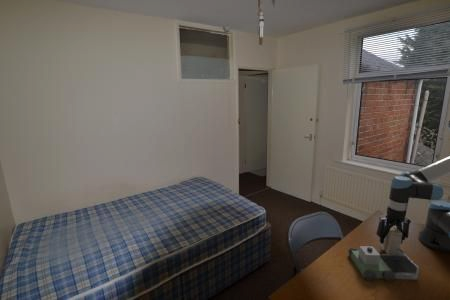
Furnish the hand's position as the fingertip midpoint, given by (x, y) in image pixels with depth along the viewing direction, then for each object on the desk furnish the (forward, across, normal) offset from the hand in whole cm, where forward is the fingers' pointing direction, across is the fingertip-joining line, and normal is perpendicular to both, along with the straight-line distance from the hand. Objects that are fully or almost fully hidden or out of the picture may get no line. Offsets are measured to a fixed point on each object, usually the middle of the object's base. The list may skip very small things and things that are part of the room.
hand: (389, 248), depth 117 cm
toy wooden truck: (+1, +16, +12) cm, 20 cm away
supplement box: (+2, 0, 0) cm, 2 cm away
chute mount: (+1, +6, +12) cm, 13 cm away
